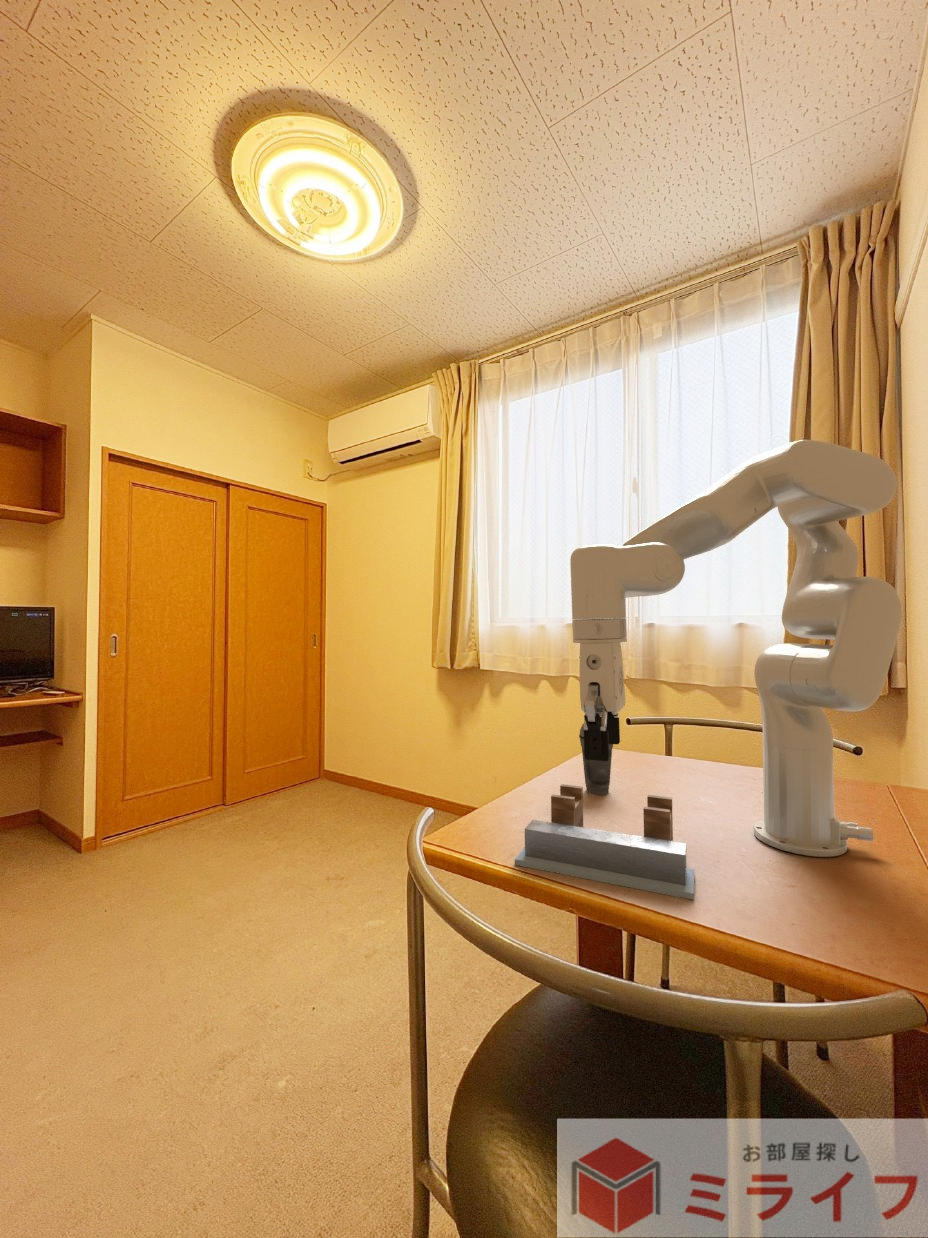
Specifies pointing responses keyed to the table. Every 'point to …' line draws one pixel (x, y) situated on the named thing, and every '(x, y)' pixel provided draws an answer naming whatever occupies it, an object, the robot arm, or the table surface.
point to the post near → (658, 818)
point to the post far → (568, 806)
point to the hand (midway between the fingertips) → (603, 751)
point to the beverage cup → (596, 771)
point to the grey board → (611, 876)
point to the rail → (607, 851)
